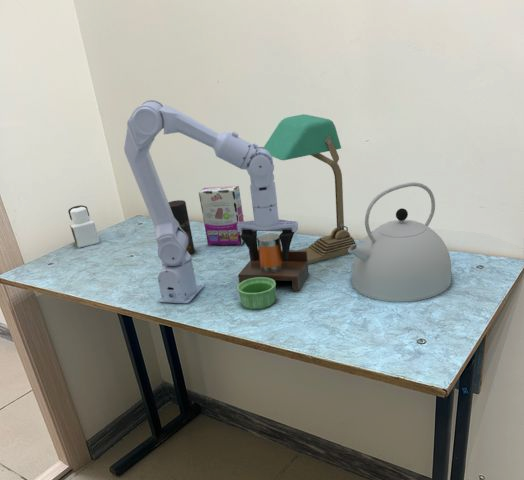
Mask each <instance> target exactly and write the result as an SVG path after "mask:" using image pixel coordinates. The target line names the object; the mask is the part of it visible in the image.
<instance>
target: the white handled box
mask: <svg viewBox="0 0 524 480" xmlns="http://www.w3.org/2000/svg"><path fill="white" fill-rule="evenodd" d="M67 213H68V216H69V219H70V221H69V222H68V223H69V227H70V230H71V233H72V237H73V240H74V242H75V245H76V246H77V248H78V249H80V248H84V247H88V246H92V245H97V244H100V242H101V241H100V238H99V234H98V231H97V228H96V224H95V221H94V220H93V218H92V217H90V212H89V209H88V207H87V206H86V205H81V204H80V205H74V206H71V207H70V208H69V209H68V211H67Z"/></svg>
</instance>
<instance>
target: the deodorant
mask: <svg viewBox="0 0 524 480" xmlns="http://www.w3.org/2000/svg"><path fill="white" fill-rule="evenodd" d="M168 203H169V205H170V208H171V211H172V213H173V216H174V218H175V219H176V220H177V221H178V223H179V225H180V227H181V229H182V230H183V231H184V232H185V233H186V234H187V236H188V239H189V243H188V246H187V248H186V250H187V251H188V253H189V254H190V255H191V256H192V255H194V254H195V253H196V250H195V245H194V240H193V234H192V230H191V229H192V228H191V224H190V218H189V214H188V213H189V212H188V208H187V207H188V206H187V203H186V201H185V200H182V199H177V200H172V201H168Z"/></svg>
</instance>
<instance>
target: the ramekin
mask: <svg viewBox="0 0 524 480" xmlns="http://www.w3.org/2000/svg"><path fill="white" fill-rule="evenodd" d="M276 285H277V283H276V280H273V279H271V278H267V277H255V278H250V279H247V280H244V281H242V282H241V283H239V282H238V284H237V287H236V289H237V292H238V296H239V298H240V299H239V300H240V303H241V305H242V306H243V307H244V308H246V309H249V310H250V309H251V310H261V309H265V308H268V307H271V306H272V305H273V304H274V303H275V302H276Z"/></svg>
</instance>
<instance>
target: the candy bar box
mask: <svg viewBox="0 0 524 480" xmlns="http://www.w3.org/2000/svg"><path fill="white" fill-rule="evenodd" d="M198 197H199V202H200V207H201V208H200V209H201V213H202V219H203V224H204V230H205V236H206V242H207V246H242V245H243V244H245V242H244V241H243V240H242V238H241V235H242V232H238V230H237V224H238V223H239V222H244V221H245V220H244V213H243V205H242V198H241V191H240V186H239V185H233V186H231V185H230V186H211V187H204V188H202V189H201V190H199V191H198Z"/></svg>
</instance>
